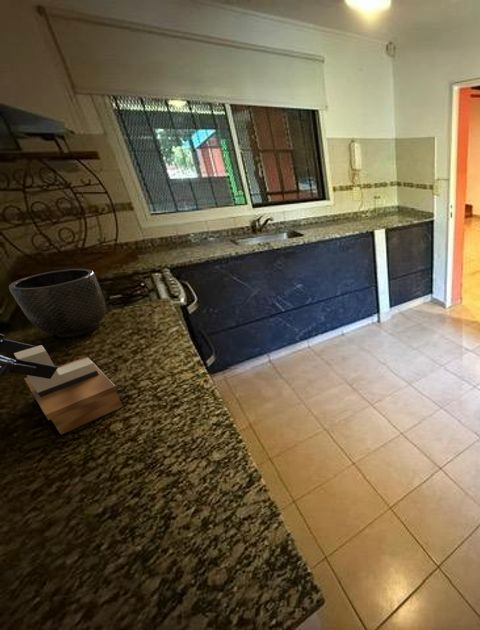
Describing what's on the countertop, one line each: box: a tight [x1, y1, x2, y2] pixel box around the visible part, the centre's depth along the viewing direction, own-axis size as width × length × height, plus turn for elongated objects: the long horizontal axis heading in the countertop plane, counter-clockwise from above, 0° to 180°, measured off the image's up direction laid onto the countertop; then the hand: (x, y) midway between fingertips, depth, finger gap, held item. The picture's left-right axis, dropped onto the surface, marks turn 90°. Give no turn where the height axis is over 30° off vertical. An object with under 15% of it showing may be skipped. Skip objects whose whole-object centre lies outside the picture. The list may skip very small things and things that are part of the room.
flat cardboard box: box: [23, 356, 124, 435], centre depth 83 cm, size 12×22×6 cm, turn 54°
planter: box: [8, 268, 107, 339], centre depth 114 cm, size 20×20×19 cm
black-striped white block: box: [13, 344, 99, 397], centre depth 80 cm, size 10×5×10 cm, turn 144°
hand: (46, 362), depth 78 cm, fingers open, 13 cm apart
